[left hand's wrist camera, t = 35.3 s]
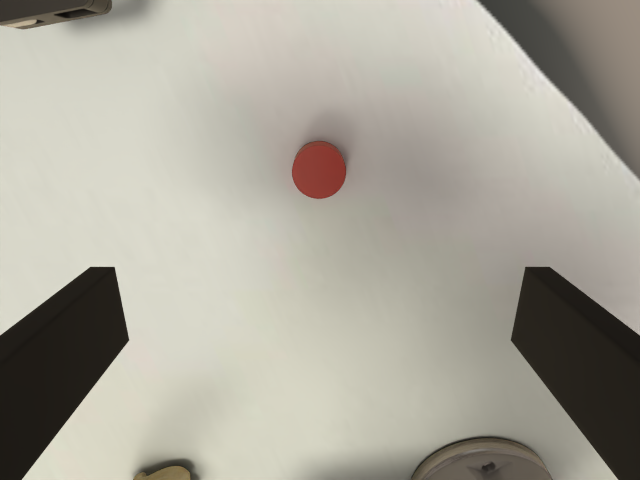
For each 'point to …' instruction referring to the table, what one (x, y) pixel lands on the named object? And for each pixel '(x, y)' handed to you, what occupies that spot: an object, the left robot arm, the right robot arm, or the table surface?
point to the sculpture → (166, 474)
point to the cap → (319, 170)
